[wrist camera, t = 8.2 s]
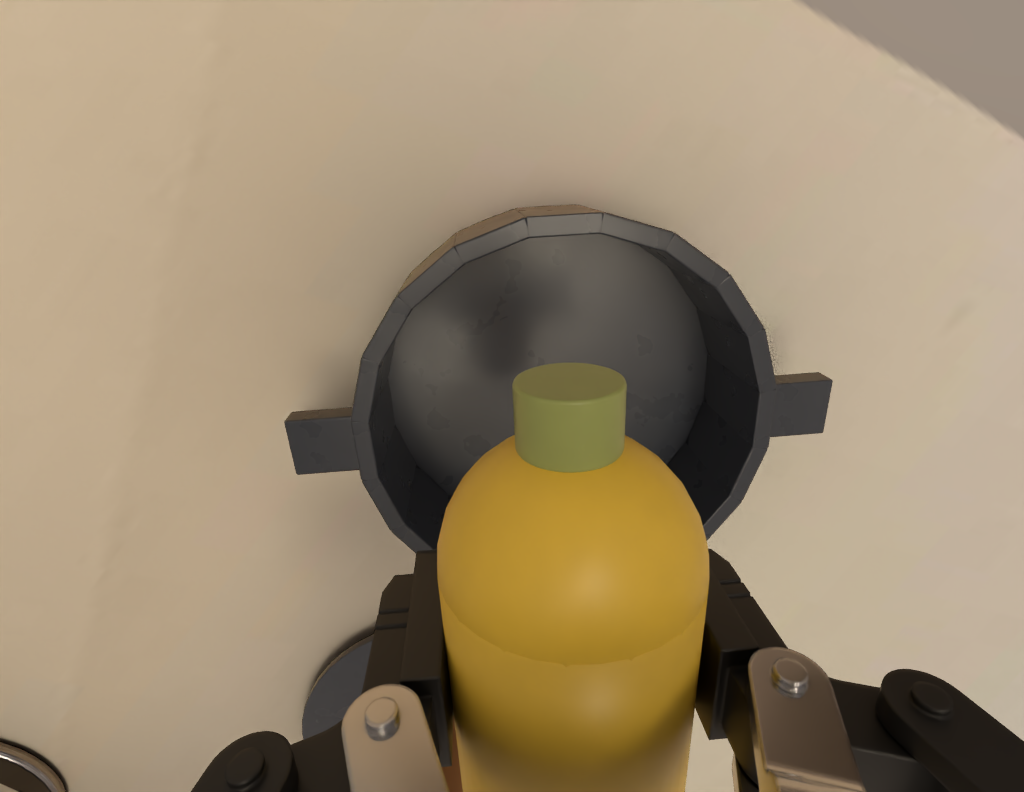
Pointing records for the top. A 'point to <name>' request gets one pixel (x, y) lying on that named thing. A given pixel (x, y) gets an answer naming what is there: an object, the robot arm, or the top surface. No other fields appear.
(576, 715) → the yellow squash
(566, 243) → the pan
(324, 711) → the lid
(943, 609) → the top surface
